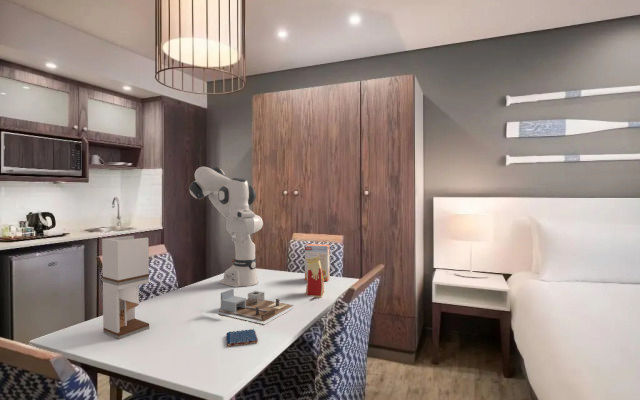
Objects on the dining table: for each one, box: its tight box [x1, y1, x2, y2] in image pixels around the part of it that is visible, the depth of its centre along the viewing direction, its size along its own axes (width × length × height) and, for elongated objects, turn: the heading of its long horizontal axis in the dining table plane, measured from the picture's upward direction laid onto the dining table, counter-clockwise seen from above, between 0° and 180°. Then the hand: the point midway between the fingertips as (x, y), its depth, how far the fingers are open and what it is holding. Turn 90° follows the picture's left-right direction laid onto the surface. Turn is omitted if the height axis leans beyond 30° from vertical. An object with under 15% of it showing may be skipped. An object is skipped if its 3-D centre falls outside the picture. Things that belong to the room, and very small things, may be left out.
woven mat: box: [226, 328, 259, 348], centre depth 124 cm, size 10×11×2 cm
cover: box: [220, 288, 247, 312], centre depth 151 cm, size 8×7×7 cm
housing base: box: [217, 298, 294, 326], centre depth 153 cm, size 24×22×4 cm
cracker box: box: [304, 243, 331, 282], centre depth 208 cm, size 14×6×21 cm, turn 76°
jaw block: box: [247, 290, 265, 304], centre depth 162 cm, size 5×5×4 cm
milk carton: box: [305, 256, 325, 298], centre depth 178 cm, size 9×9×20 cm
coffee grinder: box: [101, 235, 150, 340], centre depth 131 cm, size 11×11×35 cm
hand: (239, 242), depth 163 cm, fingers open, 8 cm apart
